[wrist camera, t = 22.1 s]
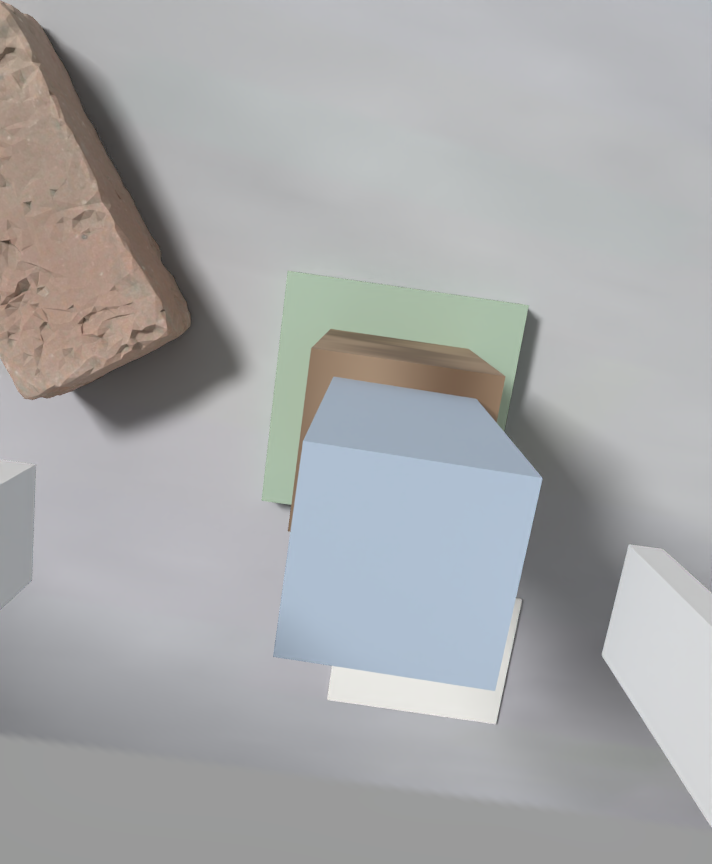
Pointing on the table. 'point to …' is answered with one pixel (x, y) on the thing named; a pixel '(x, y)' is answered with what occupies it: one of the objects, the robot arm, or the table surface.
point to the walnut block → (396, 372)
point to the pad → (383, 316)
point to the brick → (68, 234)
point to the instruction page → (423, 690)
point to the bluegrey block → (405, 536)
